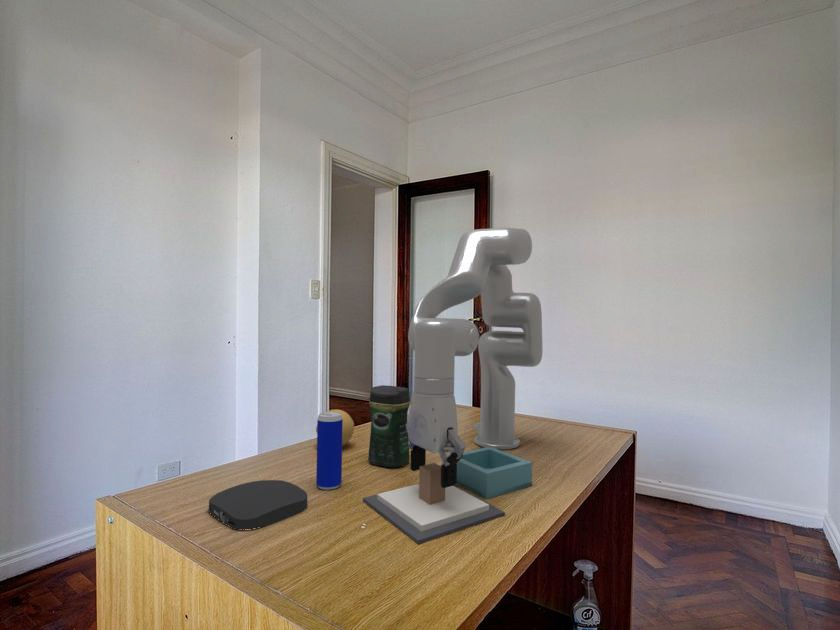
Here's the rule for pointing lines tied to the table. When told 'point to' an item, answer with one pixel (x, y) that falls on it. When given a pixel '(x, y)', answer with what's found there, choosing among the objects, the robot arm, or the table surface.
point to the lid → (431, 501)
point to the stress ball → (345, 426)
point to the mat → (434, 532)
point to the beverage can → (329, 450)
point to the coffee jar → (389, 426)
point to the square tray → (493, 472)
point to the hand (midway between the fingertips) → (432, 477)
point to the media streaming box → (257, 503)
